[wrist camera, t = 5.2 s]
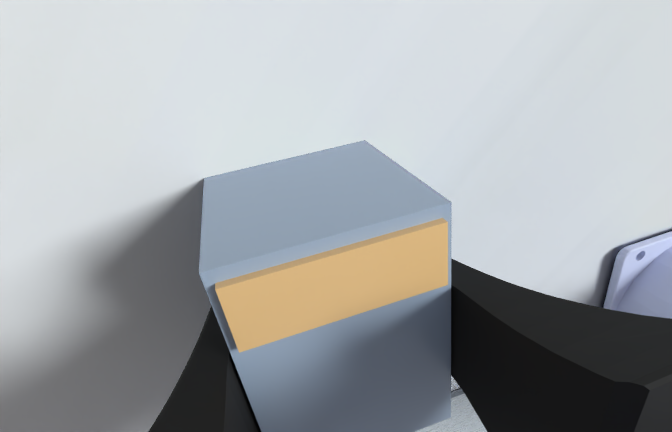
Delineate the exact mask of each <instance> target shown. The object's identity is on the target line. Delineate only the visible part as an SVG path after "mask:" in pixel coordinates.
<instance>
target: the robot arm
mask: <svg viewBox="0 0 672 432" xmlns="http://www.w3.org/2000/svg"><path fill="white" fill-rule="evenodd" d="M451 375H452V376H453V378H454V379H455V380H456V382H457V383H458V385H459V386H460V388H461V389H462V391H463V392H464V394H465V395H466V397H467V398H468V400H469V402H470V403H471V405H472V407H473V408H474V410H475V412H476V413H477V415H478V417H479V418H480V420H481V422H482V424H483V425H484V427H485V429H486V430H487V432H672V231H671V232H668V233H665V234H662V235H659V236H656V237H653V238H650V239H647V240H644V241H641V242H638V243H635V244H632V245H629V246H626V247H624V248H622V249H621V250H620V251H619V252H618V254H617V256H616V259H615V263H614V267H613V271H612V275H611V279H610V283H609V287H608V291H607V295H606V299H605V303H604V307H603V308H600V307H595V306H590V305H586V304H581V303H577V302H573V301H569V300H565V299H561V298H557V297H553V296H549V295H546V294H542V293H539V292H536V291H533V290H530V289H526V288H523V287H520V286H517V285H514V284H511V283H508V282H506V281H503V280H501V279H498V278H495V277H493V276H490V275H488V274H485V273H483V272H480V271H478V270H476V269H473V268H471V267H469V266H466V265H464V264H462V263H460V262H458V261H455V260H453V259H451ZM149 432H261V430H260V427H259V425H258V422H257V419H256V417H255V414H254V412H253V409H252V407H251V404H250V402H249V399H248V397H247V394H246V392H245V389H244V386H243V384H242V381H241V379H240V376H239V374H238V371H237V369H236V366H235V364H234V361H233V359H232V356H231V353H230V351H229V348H228V346H227V343H226V341H225V338H224V336H223V333H222V331H221V328H220V326H219V323H218V321H217V318H216V315H215V313H214V310H213V308H212V305H211V308H210V311H209V314H208V316H207V319H206V322H205V324H204V327H203V329H202V332H201V334H200V337H199V339H198V341H197V343H196V346H195V348H194V350H193V352H192V354H191V357H190V359H189V361H188V363H187V365H186V367H185V369H184V371H183V373H182V375H181V377H180V379H179V381H178V382H177V384H176V386H175V388H174V390H173V392H172V394H171V396H170V397H169V399H168V401H167V403H166V404H165V406H164V408H163V409H162V411H161V413H160V414H159V416H158V417H157V419H156V421H155V422H154V424H153V425H152V427H151V429H150V430H149Z"/></svg>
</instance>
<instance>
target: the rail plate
mask: <svg viewBox="0 0 672 432" xmlns="http://www.w3.org/2000/svg"><path fill="white" fill-rule="evenodd" d="M415 432H487V430H486V429H485V427H484V425H483V424H482V422H481V420H480V418H479V417H478V415H477V413H476V412H475V410H474V408H473V407H472V405H471V403H470V402H469V400H468V398H467V397H466V395H465V394H464V392H463V391H462V389H461V388H460V389H458V390H455V391H453V392H451V417H450V418H448V419H445V420H443V421H440V422H438V423H435V424H433V425H430V426H428V427H425V428H423V429H420V430H418V431H415Z"/></svg>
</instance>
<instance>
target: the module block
mask: <svg viewBox="0 0 672 432" xmlns="http://www.w3.org/2000/svg"><path fill="white" fill-rule="evenodd" d="M199 275H200V277H201V280H202V282H203V285H204V288H205V290H206V293H207V295H208V298H209V300H210V303H211V305H212V308H213V310H214V313H215V315H216V318H217V321H218V323H219V326H220V328H221V331H222V333H223V336H224V338H225V341H226V343H227V346H228V348H229V351H230V353H231V356H232V359H233V361H234V364H235V366H236V369H237V371H238V374H239V376H240V379H241V381H242V384H243V386H244V389H245V392H246V394H247V397H248V399H249V402H250V404H251V407H252V409H253V412H254V414H255V417H256V419H257V422H258V425H259V427H260V430H261V432H415V431H418V430H420V429H423V428H425V427H428V426H430V425H433V424H435V423H438V422H440V421H443V420H445V419H448V418H450V417H451V202H450V201H449V200H448V199H446V198H445V197H443V196H442V195H441V194H439V193H438V192H436V191H435V190H434V189H432V188H431V187H429V186H428V185H427V184H425V183H424V182H422V181H421V180H420V179H418V178H417V177H415V176H414V175H413V174H411V173H410V172H408V171H407V170H406V169H404V168H403V167H401V166H400V165H399V164H397V163H396V162H394V161H393V160H392V159H390V158H389V157H387V156H386V155H385V154H383V153H382V152H380V151H379V150H378V149H376V148H375V147H373V146H372V145H371V144H369V143H368V142H367V141H365V140H364V141H360V142H356V143H352V144H347V145H343V146H339V147H335V148H330V149H326V150H322V151H317V152H313V153H309V154H305V155H300V156H296V157H292V158H288V159H283V160H279V161H275V162H271V163H266V164H262V165H258V166H254V167H249V168H245V169H241V170H237V171H232V172H228V173H224V174H220V175H215V176H211V177H207V178H204V187H203V205H202V224H201V242H200V260H199Z"/></svg>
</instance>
